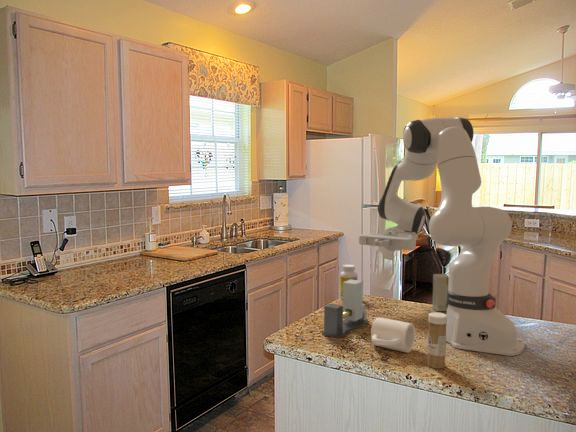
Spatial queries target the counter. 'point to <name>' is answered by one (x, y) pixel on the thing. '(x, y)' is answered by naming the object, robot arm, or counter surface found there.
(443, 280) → the skincare box
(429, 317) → the sprinkles bottle
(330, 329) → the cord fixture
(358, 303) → the box sleeve
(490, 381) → the counter surface
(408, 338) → the mug
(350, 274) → the supplement bottle
